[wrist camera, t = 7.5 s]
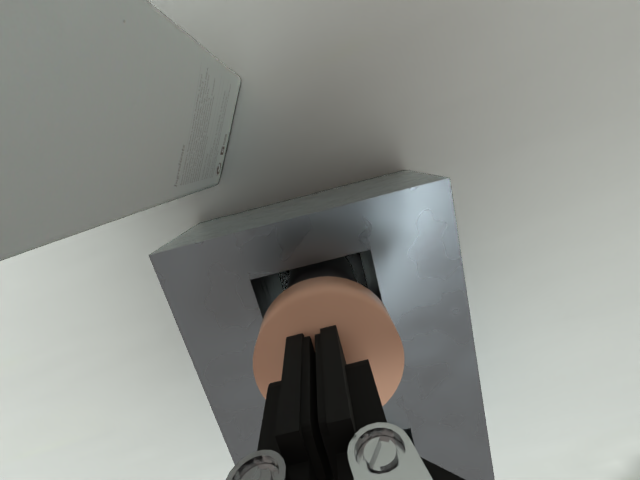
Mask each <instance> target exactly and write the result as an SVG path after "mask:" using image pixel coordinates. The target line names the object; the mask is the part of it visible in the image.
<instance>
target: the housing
mask: <svg viewBox="0 0 640 480" xmlns="http://www.w3.org/2000/svg"><path fill="white" fill-rule="evenodd" d="M358 252H360V256H361V260H362V265H363V269H364V273H365V277H366V282H367V286H368V289H369V290H371V291H372V292H373V293H374V294H375V295H376V296H377V297H378V298H379V299H380V300H381V301H382V303H383V304H384V306H385V307H386V309H387V311H388V313H389V315H390V317H391V319H392V322H393V324H394V326H395V328H396V330H397V332H398V334H399V336H400V338H401V341H402V345H403V349H404V370H403V375H402V378H401V381H400V383H399V385H398V387H397V389H396V391H395V392H394V394H393V395H392V397H391V398H390V399H389V400H388V402H387V403H386V404H385V405H384V406H382V407H383V410H384V414H385V417H386V420H387V423H390V424H393V425H396V426H398V427H399V428H401V429H402V430H404V431H405V433H406V434H407V435H408V436H409V438H410V440H411V441H412V443H413V445H414V447H415V449H416V450H417V452H418V454H419V456H420V457H422V458H424V459H426V460H428V461H430V462H432V463H434V464H436V465H438V466H439V467H441V468H443V469H445V470H447V471H449V472H451V473H453V474H455V475H457V476H459V477H461V478H463V479H465V480H494V473H493V466H492V460H491V453H490V446H489V439H488V433H487V426H486V419H485V412H484V406H483V399H482V392H481V385H480V379H479V372H478V365H477V358H476V352H475V345H474V338H473V331H472V325H471V318H470V311H469V304H468V298H467V291H466V284H465V277H464V271H463V264H462V257H461V250H460V244H459V237H458V230H457V223H456V217H455V210H454V203H453V196H452V190H451V183H450V178H448V177H442V176H437V175H431V174H425V173H420V172H414V171H409V170H403V171H399V172H395V173H391V174H388V175H384V176H380V177H376V178H372V179H368V180H364V181H361V182H357V183H353V184H349V185H345V186H341V187H337V188H334V189H330V190H326V191H322V192H318V193H314V194H310V195H306V196H303V197H299V198H295V199H291V200H287V201H283V202H279V203H276V204H272V205H268V206H264V207H260V208H256V209H252V210H249V211H245V212H241V213H237V214H233V215H229V216H225V217H222V218H218V219H214V220H210V221H206V222H202V223H199V224H197V225H195V226H194V227H192V228H191V229H189V230H188V231H186V232H184V233H183V234H181V235H180V236H178V237H177V238H175V239H173V240H172V241H170V242H169V243H167V244H165V245H164V246H162V247H161V248H159V249H158V250H156V251H154V252H153V253H151V254H150V255H149V257H150V260H151V262H152V264H153V267H154V269H155V272H156V274H157V277H158V279H159V281H160V284H161V286H162V289H163V291H164V294H165V296H166V298H167V301H168V303H169V306H170V308H171V311H172V313H173V316H174V318H175V320H176V323H177V325H178V328H179V330H180V333H181V335H182V337H183V340H184V342H185V345H186V347H187V350H188V352H189V354H190V357H191V359H192V362H193V364H194V367H195V369H196V371H197V374H198V376H199V379H200V381H201V384H202V386H203V389H204V391H205V393H206V396H207V398H208V401H209V403H210V406H211V408H212V410H213V413H214V415H215V418H216V420H217V423H218V425H219V427H220V430H221V432H222V435H223V437H224V440H225V442H226V444H227V447H228V449H229V452H230V454H231V457H232V459H233V461H234V464H235V465H236V464H237V463H238V462H239V461H240V460H242V459H243V458H244V457H245V456H247V455H249V454H251V453H253V452H256V451H257V448H258V442H259V436H260V431H261V425H262V419H263V413H264V407H265V401H266V400H265V398H264V397H263V395H262V394H261V392H260V390H259V388H258V386H257V384H256V381H255V377H254V373H253V354H254V348H255V345H256V341H257V338H258V334H259V331H260V327H261V324H262V321H263V318H264V315H265V313H266V311H267V309H268V308H269V306H270V305H271V303H272V302H273V301H274V300H275V299H276V298H277V296H278V295H280V294H281V293H282V292H283V288H282V284H281V281H280V278H279V275H278V273H279V272H283V271H287V270H291V269H295V268H299V267H303V266H307V265H311V264H315V263H319V262H323V261H327V260H331V259H335V258H339V257H343V256H347V255H351V254H355V253H358Z"/></svg>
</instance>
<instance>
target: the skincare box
mask: <svg viewBox="0 0 640 480" xmlns="http://www.w3.org/2000/svg"><path fill="white" fill-rule="evenodd" d="M240 83H241V78H240V77H239V76H238V75H237V74H236V73H234V72H233V71H232V70H231V69H229V68H228V67H227V66H226V65H225V64H223V63H222V62H221V61H220V60H218V59H217V58H216V57H215V56H214V55H212V54H211V53H210V52H209V51H208V50H206V49H205V48H204V47H203V46H202V45H201V44H199V43H198V42H197V41H196V40H195V39H194V38H192V37H191V36H190V35H189V34H188V33H186V32H185V31H184V30H183V29H181V28H180V27H179V26H178V25H176V24H175V23H174V22H173V21H171V20H170V19H169V18H168V17H167V16H165V15H164V14H163V13H162V12H161V11H159V10H158V9H157V8H156V7H154V6H153V5H152V4H151V3H149V2H148V1H147V0H0V261H1V260H4V259H7V258H10V257H13V256H16V255H18V254H21V253H24V252H27V251H30V250H32V249H35V248H38V247H41V246H44V245H47V244H49V243H52V242H55V241H58V240H61V239H64V238H67V237H69V236H72V235H75V234H78V233H81V232H84V231H87V230H89V229H92V228H95V227H98V226H100V225H103V224H106V223H109V222H112V221H115V220H118V219H121V218H124V217H126V216H129V215H132V214H135V213H137V212H140V211H143V210H146V209H149V208H152V207H155V206H157V205H160V204H163V203H166V202H169V201H172V200H175V199H178V198H181V197H183V196H186V195H189V194H192V193H195V192H198V191H201V190H203V189H206V188H209V187H212V186H214V185H217V184H218V182H219V179H220V175H221V170H222V166H223V161H224V157H225V152H226V148H227V143H228V138H229V134H230V129H231V124H232V120H233V115H234V110H235V106H236V101H237V96H238V92H239V88H240Z"/></svg>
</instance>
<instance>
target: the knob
mask: <svg viewBox="0 0 640 480" xmlns="http://www.w3.org/2000/svg"><path fill="white" fill-rule="evenodd" d="M333 325H336V327H337V331H338V334H339V338H340V342H341V345H342V349H343V353H344V357H345V360H346V364H350V363H354V362H358V361H363V360H367V359H368V360H369V363H370V367H371V370H372V373H373V377H374V380H375V383H376V387H377V390H378V393H379V397H380V400H381V404H382V406H384V405H385V404H386V403H387V402H388V400H389V399H390V398H391V397H392V395H393V394H394V392H395V391H396V389H397V387H398V385H399V383H400V381H401V378H402V375H403V370H404V349H403V345H402V341H401V338H400V336H399V334H398V332H397V330H396V328H395V326H394V324H393V322H392V319H391V317H390V315H389V313H388V311H387V309H386V307H385V306H384V304H383V303H382V301H381V300H380V299H379V298H378V297H377V296H376V295H375V294H374V293H373V292H372V291H371V290H369V289H368V288H366V287H365V286H363V285H361V284H359V283H357V280H356V278H355V275H354V272H353V269H352V267H351V265H350V263H349V261H348V260H347V259H346V258H345V257H344V256H343V257H339V258H335V259H331V260H327V261H323V262H319V263H315V264H311V265H307V266H303V267H299V268H295V269H291V270H290V273H289V278H288V284H287V289H286V290H284V291H283V292H282V293H281V294H280V295H278V296H277V298H276V299H275V300H274V301H273V302H272V303H271V305H270V306H269V308H268V309H267V311H266V313H265V315H264V318H263V321H262V324H261V327H260V331H259V334H258V338H257V341H256V345H255V348H254V354H253V373H254V377H255V381H256V384H257V386H258V388H259V390H260V392H261V394H262V395H263V397H264V398H265V400H266V395H267V389H268V385H269V384H270V383H273V382H277V381H281V378H282V369H283V361H284V352H285V344H286V337H289V336H293V335H297V334H301V333H303V334H304V337H307V336H310V337H311V340H312V344H313V347H314V350H315V334H319V333H320V329H321V328H325V327H329V326H333Z"/></svg>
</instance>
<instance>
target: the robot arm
mask: <svg viewBox="0 0 640 480" xmlns="http://www.w3.org/2000/svg"><path fill="white" fill-rule="evenodd" d="M226 480H465V479H463V478H461V477H459V476H457V475H455V474H453V473H451V472H449V471H447V470H445V469H443V468H441V467H439V466H438V465H436V464H434V463H432V462H430V461H428V460H426V459H424V458H422V457H420V456H419V454H418V452H417V450H416V449H415V447H414V445H413V443H412V441H411V440H410V438H409V436H408V435H407V434H406V433H405V431H404V430H402V429H401V428H399V427H398V426H396V425H393V424H390V423H387V420H386V417H385V414H384V410H383V407H382V404H381V400H380V397H379V393H378V390H377V387H376V383H375V380H374V377H373V373H372V370H371V367H370V363H369V360H368V359H367V360H363V361H358V362H354V363H350V364H346V360H345V357H344V353H343V349H342V345H341V342H340V338H339V334H338V331H337V327H336V325H333V326H329V327H325V328H321V329H320V333H319V334H315V350H314V347H313V344H312V340H311V337H310V336H307V337H304V334H303V333H301V334H297V335H293V336H289V337H286V344H285V352H284V361H283V369H282V378H281V381H277V382H273V383H270V384H269V385H268V389H267V395H266V401H265V407H264V413H263V419H262V425H261V431H260V436H259V442H258V448H257V451H256V452H253V453H251V454H249V455H247V456H245V457H244V458H243V459H242V460H240V461H239V462H238V463H237V464H236V465H235V466H234V468H233V469H232V470H231V471H230V473H229V475H228V477H227V478H226Z"/></svg>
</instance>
